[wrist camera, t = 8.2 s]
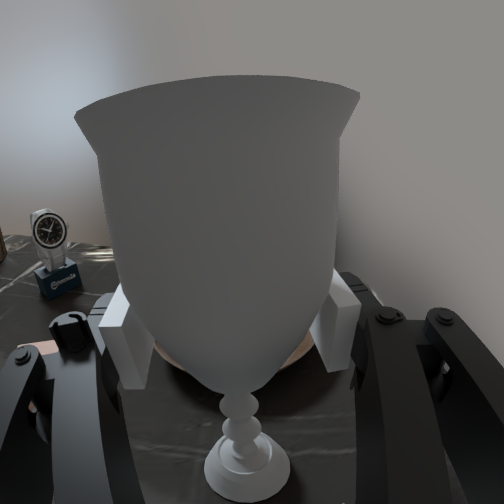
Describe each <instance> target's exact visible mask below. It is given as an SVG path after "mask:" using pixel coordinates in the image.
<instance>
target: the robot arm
mask: <svg viewBox="0 0 504 504" xmlns="http://www.w3.org/2000/svg"><path fill="white" fill-rule="evenodd" d="M49 329H50V332H51V334H52V336H53V338H54V340H55V343H56V345H57V347H58V352H55V353H50V354H45V355H41V354H40V352H39V350H38V348H37V347H36V346H34V345H30V344H29V345H23V346H21V347H18V348H17V349H15V350H14V351H13V352H12V353H11V354H10V356H9V357H8V359H7V361H6V363H5V364H4V366H3V368H2V370H1V372H0V504H52V498H53V491H54V495H55V504H145V501H144V498H143V495H142V491H141V488H140V484H139V481H138V477H137V473H136V469H135V466H134V461H133V457H132V453H131V449H130V444H129V439H128V435H127V430H126V424H125V419H124V413H123V407H122V401H121V396H120V394H119V392H118V390H117V385H118V381H119V379H120V381H121V383H122V385H123V387H124V389H145V386H146V381H147V376H148V370H149V365H150V361H151V356H152V351H153V346H154V342H155V339H154V337H153V336H152V335H151V333H150V332H149V331H148V329H147V328H146V327H145V325H144V324H143V323H142V321H141V320H140V319H139V317H138V316H137V315H136V313H135V312H134V310H133V309H132V307H131V306H130V304H129V302H128V301H127V299H126V297H125V295H124V294H123V291H122V287H121V283H120V284H119V286H118V288H117V290H116V292H115V293H105V294H104V295H103V296H102V297H100V298H99V299H98V300H97V301H96V303H95V305H94V307H93V309H92V310H91V312H90V316H88V318H86V315H84V314H83V313H82V312H76V311H75V312H68V313H65V314H62V315H60V316H59V317H57V318H55V319H54V320H53V321H52V322H51V324H50V326H49ZM309 331H310V333H311V335H312V338H313V340H314V342H315V344H316V347H317V349H318V351H319V353H320V356H321V358H322V360H323V363H324V365H325V367H326V369H327V372H328V373H329V372H334V371H339V370H344V369H348V367H349V363H350V359H351V357H352V359H353V361H354V363H355V365H356V366H355V370H354V374H353V378H352V381H351V385H350V390H353V386H354V391H355V410H356V446H357V472H356V504H452V500H451V492H450V484H449V478H448V471H447V465H446V460H445V454H444V449H445V451H446V453H447V455H448V457H449V459H450V461H451V463H452V466H453V468H454V470H455V472H456V474H457V477H458V479H459V481H460V483H461V486H462V488H463V490H464V493H465V495H466V498H467V500H468V502H469V504H504V368H503V367H502V365H501V364H500V363H499V362H498V361H497V359H496V358H495V357H494V356H493V354H492V353H491V352H490V351H489V350H488V348H486V346H485V345H484V344H483V343H482V342H481V340H480V339H479V338H478V337H477V336H476V335H475V333H474V332H473V331H472V330H471V329H470V328H469V327H468V326H467V324H466V323H465V322H464V321H463V320H462V319H461V318H460V317H459V316H458V315H457V314H456V313H455V312H453V311H451V310H449V309H446V308H433V309H431V310H429V312H428V313H427V316H426V319H425V320H406V318H405V316H404V315H403V313H401V312H400V311H398V310H397V309H394V308H391V307H385V306H382V305H381V304H380V302H379V301H378V300H377V299H376V298H375V297H374V295H373V294H372V293H371V292H370V291H368V288H367V287H366V286H365V285H364V284H363V283H362V281H361V280H360V279H359V278H358V277H357V276H355V275H353V274H351V273H349V272H342V273H337V271H336V270H335V269H334V270H333V278H332V281H331V285H330V289H329V293H328V295H327V297H326V299H325V300H324V302H323V304H322V306H321V308H320V310H319V312H318V314H317V316H316V318H315V319H314V321H313V323H312V325H311V327H310V329H309ZM445 362H446V363H447V364H448V366H449V367H450V369H449V371H448V372H447V371H445V369H444V364H445ZM30 402H32V403H33V405H34V408H33V410H32V412H31V411H30V410H29V408H28V407H29V405H30ZM443 446H444V449H443Z"/></svg>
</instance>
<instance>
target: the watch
mask: <svg viewBox="0 0 504 504" xmlns="http://www.w3.org/2000/svg"><path fill="white" fill-rule="evenodd" d="M30 223H31V228H32V238H33V241H34V244H35V246H36V249H37V252H38V253H37V254H38V256H39V257H40V259H41V261H42V262H43V263H44V265H45V266H43V267H41V268H39V269H37V270H35V271H34V274H35V277H36V280H37V283H38V285H39V288H40V291H41V292H42V293H43V294H44V295H45V296H46V297H47V298H48V300H49V301H50V300H52V299H54V298H55V297H57V296H59V295H61V294H63V293H65V292H67V291H69V290H71V289H73V288H75V287H77V286H79V285H81V284H82V282H81V278H80V275H79V271H78V268H77V264H76V263H75V262H73V261H72V260H70V259H68V258H67V257H66V253H65V251H66V250H67V229H68V228H69V226H68V223H65V221H64V220H63V218H62V217H61V216H59V215H58V214H56V213H55V212H54V211H53V210H49V209H48V208H44V209H42V210H39V211H36V212H34V213H31V215H30Z"/></svg>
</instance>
